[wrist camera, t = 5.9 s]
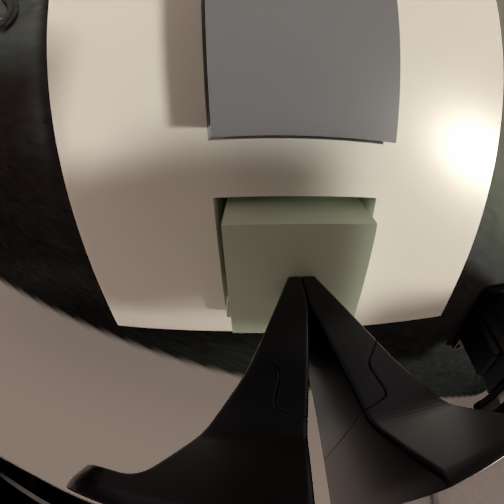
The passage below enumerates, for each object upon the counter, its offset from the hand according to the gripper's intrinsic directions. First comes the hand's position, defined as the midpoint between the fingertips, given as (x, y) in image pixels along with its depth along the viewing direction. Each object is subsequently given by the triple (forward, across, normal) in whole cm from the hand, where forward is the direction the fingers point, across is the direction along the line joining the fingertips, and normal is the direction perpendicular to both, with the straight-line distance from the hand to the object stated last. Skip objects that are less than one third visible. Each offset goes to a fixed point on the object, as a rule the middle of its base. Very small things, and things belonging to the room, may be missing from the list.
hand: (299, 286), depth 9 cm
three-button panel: (+4, 0, -7) cm, 8 cm away
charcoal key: (+4, 0, -7) cm, 8 cm away
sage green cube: (+4, 0, 0) cm, 5 cm away
